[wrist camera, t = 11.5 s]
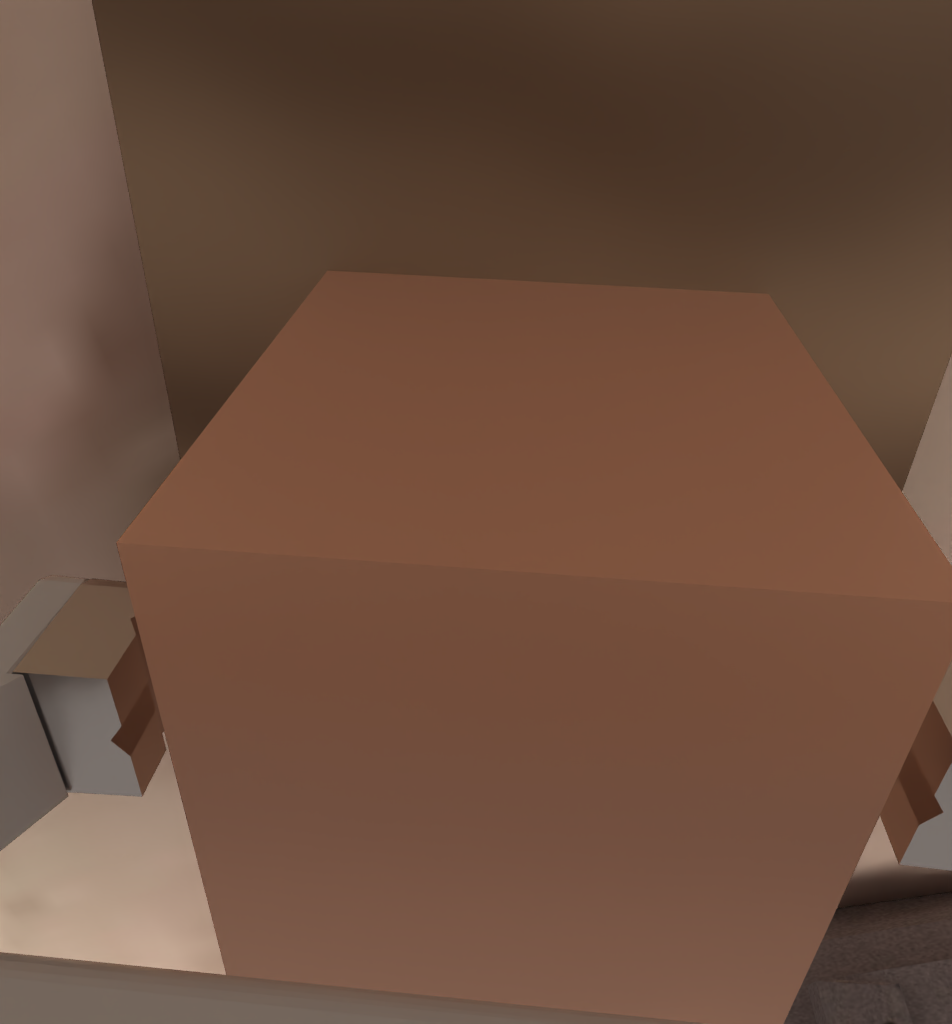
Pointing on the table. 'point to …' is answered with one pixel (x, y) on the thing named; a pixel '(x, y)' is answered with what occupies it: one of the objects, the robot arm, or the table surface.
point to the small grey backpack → (881, 966)
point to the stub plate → (546, 168)
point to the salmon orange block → (535, 646)
